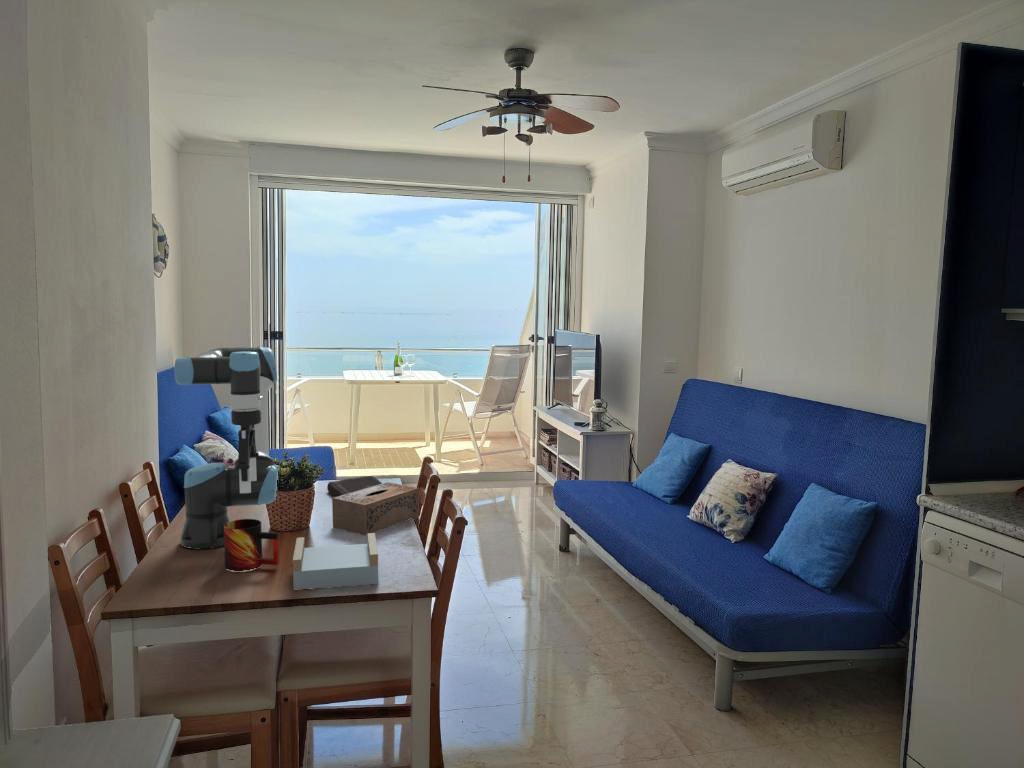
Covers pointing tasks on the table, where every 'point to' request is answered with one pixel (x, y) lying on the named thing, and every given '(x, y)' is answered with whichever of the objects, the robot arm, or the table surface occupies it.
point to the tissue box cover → (375, 507)
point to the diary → (351, 485)
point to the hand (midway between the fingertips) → (248, 486)
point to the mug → (247, 545)
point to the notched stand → (335, 565)
